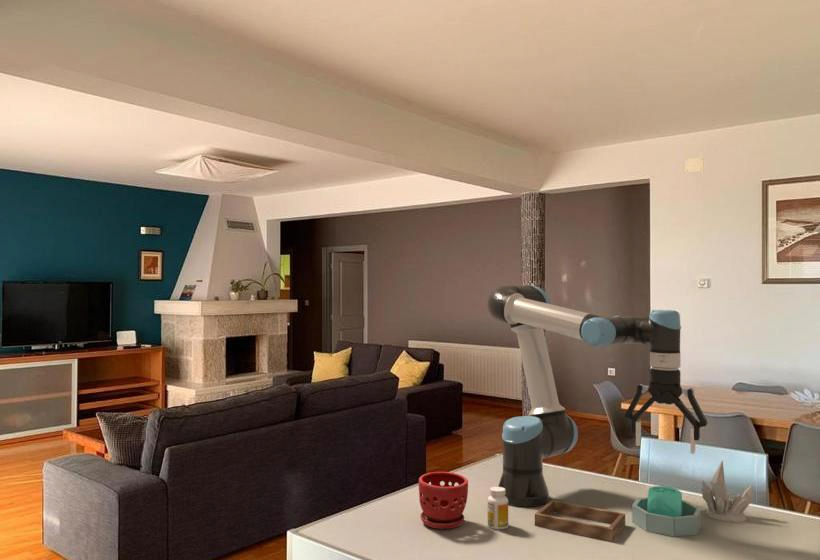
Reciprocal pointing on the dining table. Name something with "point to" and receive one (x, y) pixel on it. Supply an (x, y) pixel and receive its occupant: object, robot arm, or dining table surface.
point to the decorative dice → (665, 501)
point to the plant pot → (442, 499)
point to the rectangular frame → (577, 527)
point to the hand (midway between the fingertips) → (665, 448)
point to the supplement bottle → (497, 508)
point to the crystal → (725, 499)
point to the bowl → (667, 519)
